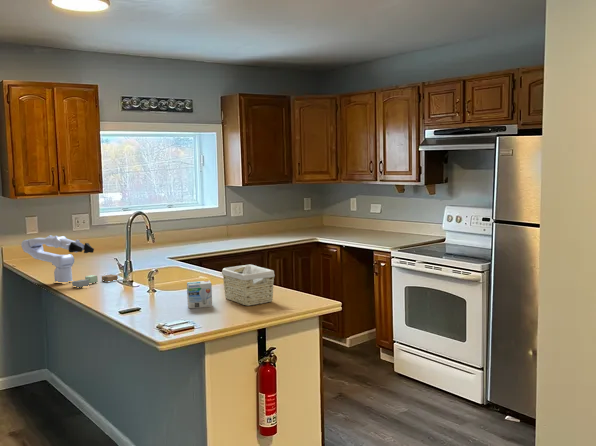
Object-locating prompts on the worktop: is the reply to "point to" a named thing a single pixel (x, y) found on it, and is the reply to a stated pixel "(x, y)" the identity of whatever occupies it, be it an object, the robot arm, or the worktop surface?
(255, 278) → the storage basket
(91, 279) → the sage cube
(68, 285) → the worktop surface
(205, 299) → the light bulb box
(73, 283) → the slate block
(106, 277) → the walnut block
